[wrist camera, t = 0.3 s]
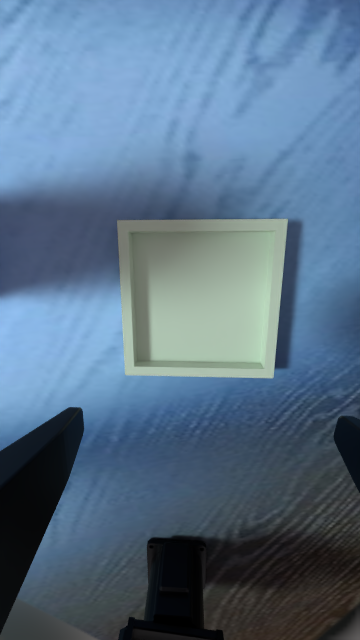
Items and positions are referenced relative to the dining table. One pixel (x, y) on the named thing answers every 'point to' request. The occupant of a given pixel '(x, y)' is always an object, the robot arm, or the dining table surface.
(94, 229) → the dining table surface
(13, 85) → the dining table surface
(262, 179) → the dining table surface
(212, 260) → the tray
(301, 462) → the dining table surface
